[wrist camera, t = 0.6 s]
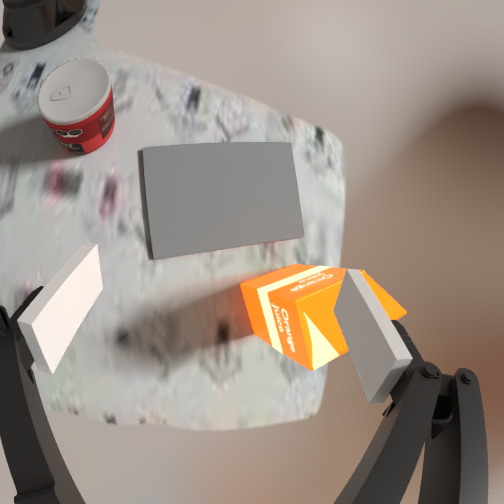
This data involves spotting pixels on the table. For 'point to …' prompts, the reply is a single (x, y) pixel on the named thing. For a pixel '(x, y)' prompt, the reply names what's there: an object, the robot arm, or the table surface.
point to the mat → (220, 196)
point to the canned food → (78, 105)
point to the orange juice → (304, 311)
